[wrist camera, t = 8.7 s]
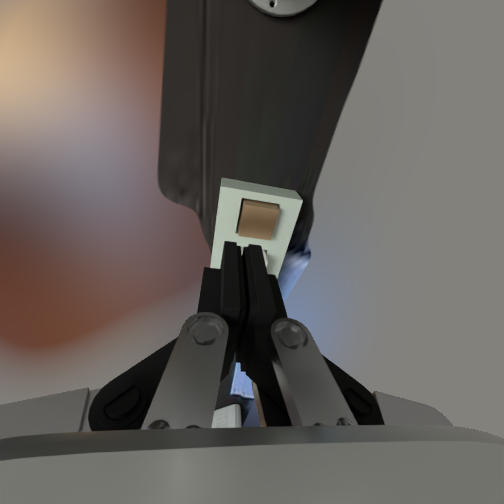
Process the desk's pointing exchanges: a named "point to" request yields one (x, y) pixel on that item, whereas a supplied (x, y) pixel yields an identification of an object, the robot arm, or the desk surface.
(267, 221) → the walnut key
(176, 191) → the desk surface
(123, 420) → the robot arm
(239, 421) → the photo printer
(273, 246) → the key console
